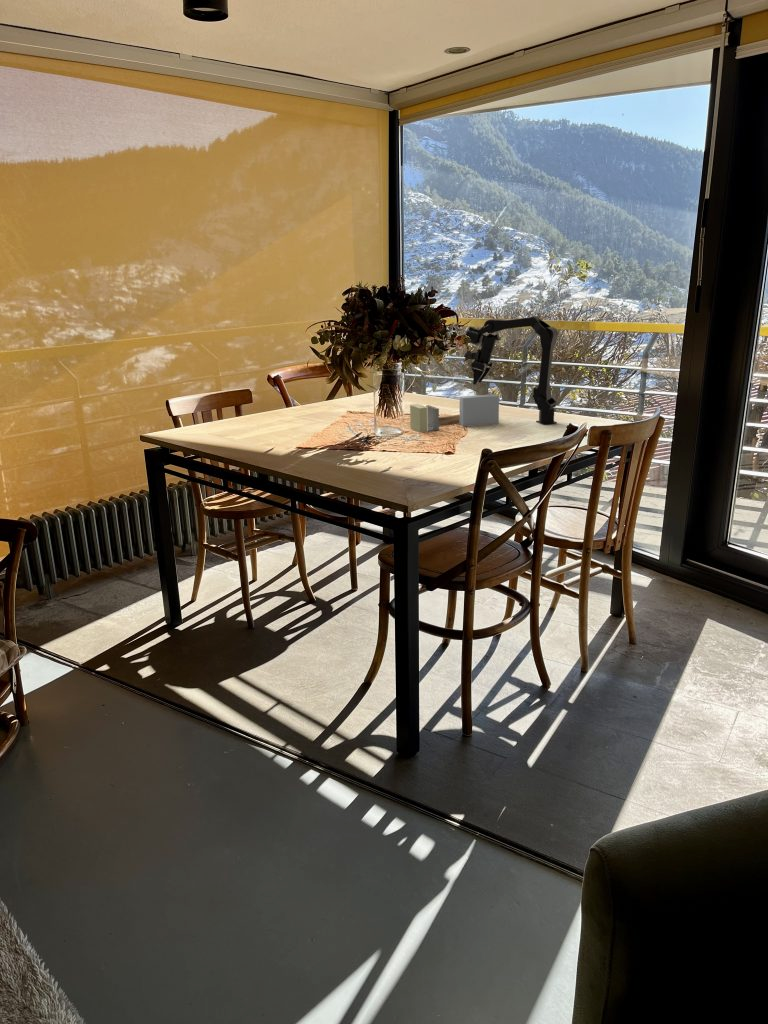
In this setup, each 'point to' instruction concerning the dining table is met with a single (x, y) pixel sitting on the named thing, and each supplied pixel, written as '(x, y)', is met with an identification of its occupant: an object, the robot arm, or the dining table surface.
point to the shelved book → (419, 417)
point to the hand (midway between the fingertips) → (477, 383)
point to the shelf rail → (449, 419)
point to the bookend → (433, 418)
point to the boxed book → (479, 410)
